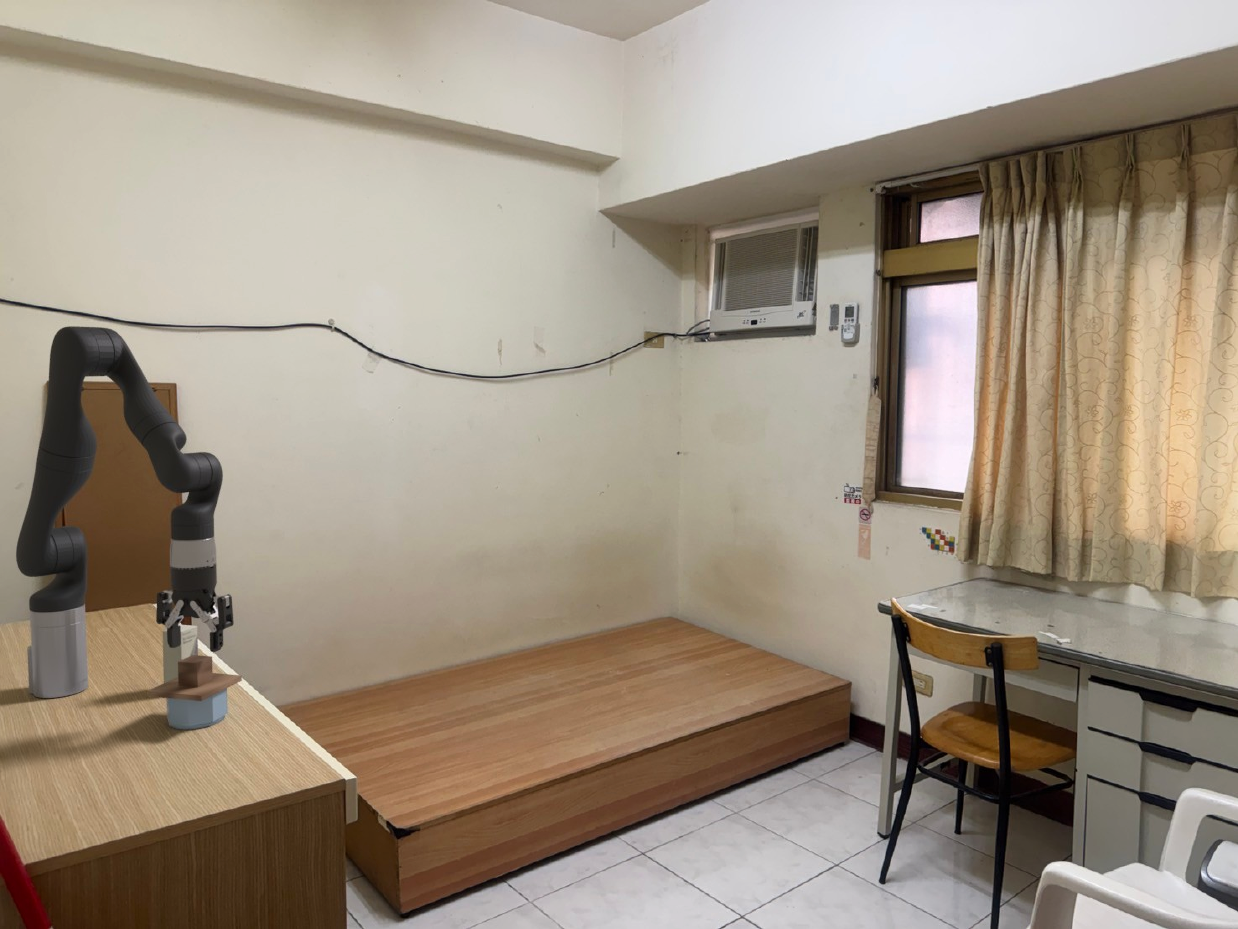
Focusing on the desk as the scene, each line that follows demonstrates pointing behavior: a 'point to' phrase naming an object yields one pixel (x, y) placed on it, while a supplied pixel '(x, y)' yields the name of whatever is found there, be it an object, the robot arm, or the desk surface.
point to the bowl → (197, 711)
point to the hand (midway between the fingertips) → (195, 648)
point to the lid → (195, 681)
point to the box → (179, 651)
